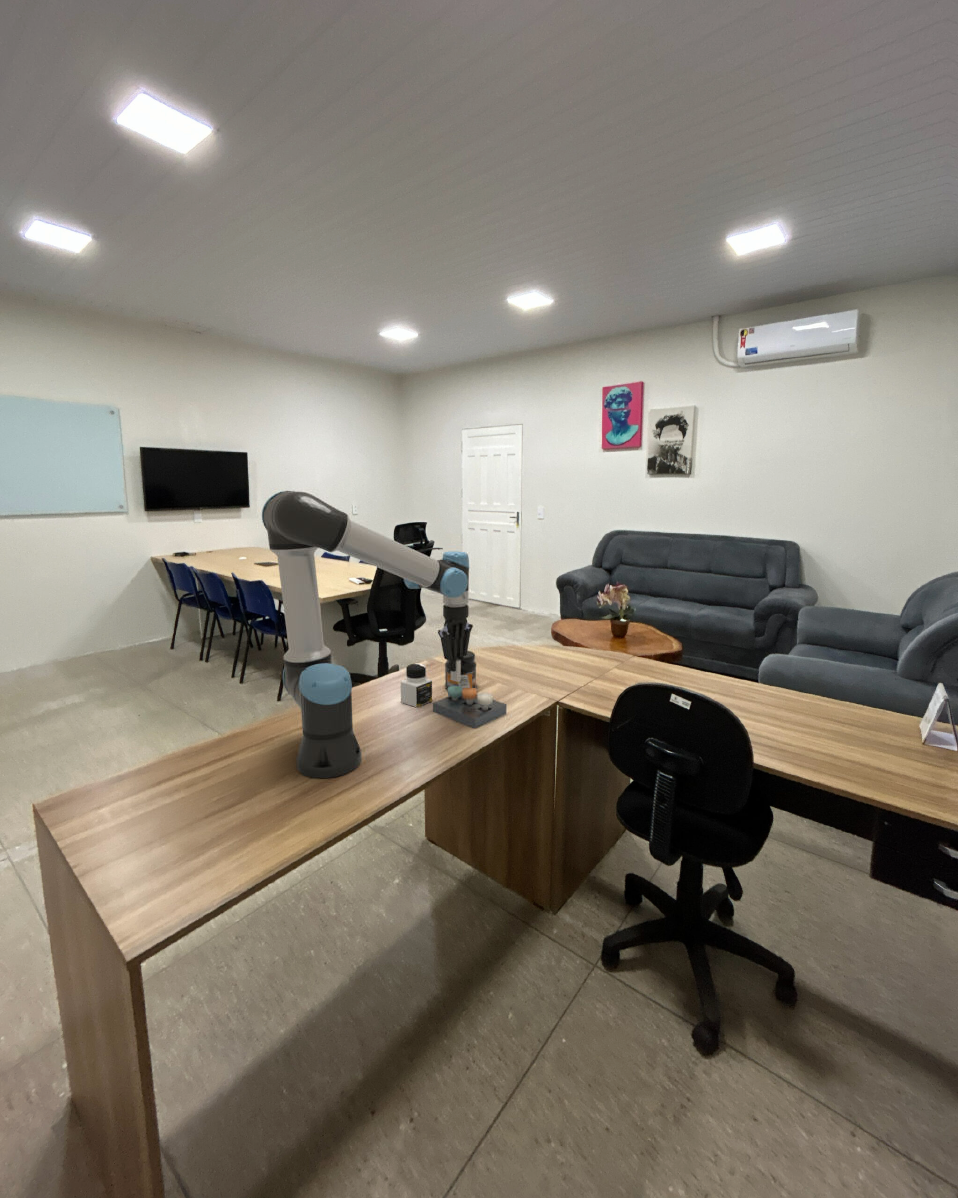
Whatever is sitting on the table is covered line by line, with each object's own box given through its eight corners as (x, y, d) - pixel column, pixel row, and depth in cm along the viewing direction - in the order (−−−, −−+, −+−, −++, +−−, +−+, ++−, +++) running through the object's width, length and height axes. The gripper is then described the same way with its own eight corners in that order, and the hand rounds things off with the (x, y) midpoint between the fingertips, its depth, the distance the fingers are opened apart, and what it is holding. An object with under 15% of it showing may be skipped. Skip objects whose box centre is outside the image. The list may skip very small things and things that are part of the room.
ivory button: (485, 715, 153) (485, 699, 152) (474, 711, 156) (474, 695, 155) (495, 710, 156) (495, 695, 155) (484, 706, 159) (484, 691, 158)
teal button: (455, 707, 161) (455, 692, 160) (444, 703, 163) (444, 688, 163) (465, 703, 164) (465, 688, 163) (454, 699, 167) (454, 684, 166)
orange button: (470, 709, 157) (470, 694, 156) (459, 705, 159) (459, 690, 158) (479, 705, 160) (480, 690, 159) (469, 701, 163) (469, 686, 162)
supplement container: (465, 696, 173) (465, 660, 170) (438, 689, 178) (438, 655, 176) (482, 686, 182) (482, 652, 179) (456, 680, 187) (456, 647, 185)
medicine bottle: (416, 708, 163) (416, 670, 161) (400, 702, 167) (399, 665, 165) (432, 701, 169) (432, 664, 166) (416, 695, 173) (415, 660, 171)
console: (474, 728, 149) (475, 718, 149) (432, 711, 160) (432, 702, 160) (506, 713, 160) (506, 704, 159) (464, 698, 171) (464, 690, 170)
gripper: (449, 609, 150) (449, 689, 155) (480, 602, 160) (479, 677, 164) (430, 605, 155) (431, 682, 160) (461, 599, 165) (461, 672, 169)
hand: (455, 680), depth 162 cm, fingers closed
